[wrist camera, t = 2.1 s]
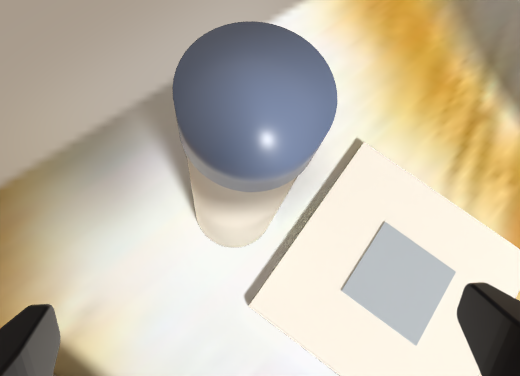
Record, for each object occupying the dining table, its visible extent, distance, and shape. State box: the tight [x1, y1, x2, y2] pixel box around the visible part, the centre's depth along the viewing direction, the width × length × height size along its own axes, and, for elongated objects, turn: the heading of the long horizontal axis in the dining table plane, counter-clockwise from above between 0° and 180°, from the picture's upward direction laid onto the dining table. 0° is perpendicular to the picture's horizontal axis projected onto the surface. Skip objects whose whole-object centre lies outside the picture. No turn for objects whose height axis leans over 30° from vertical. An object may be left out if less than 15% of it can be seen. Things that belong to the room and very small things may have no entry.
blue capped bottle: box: [173, 22, 337, 248], centre depth 16 cm, size 4×4×12 cm
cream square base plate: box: [248, 142, 520, 376], centre depth 21 cm, size 11×11×1 cm
